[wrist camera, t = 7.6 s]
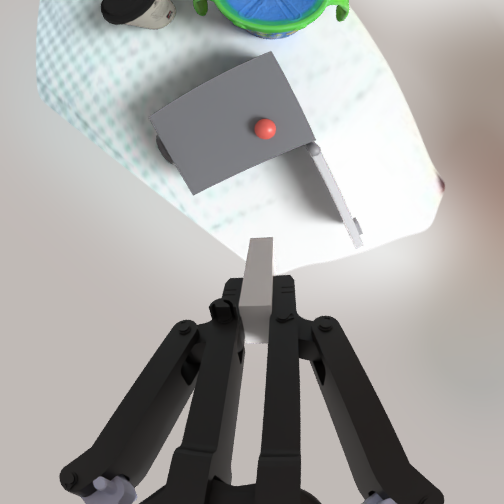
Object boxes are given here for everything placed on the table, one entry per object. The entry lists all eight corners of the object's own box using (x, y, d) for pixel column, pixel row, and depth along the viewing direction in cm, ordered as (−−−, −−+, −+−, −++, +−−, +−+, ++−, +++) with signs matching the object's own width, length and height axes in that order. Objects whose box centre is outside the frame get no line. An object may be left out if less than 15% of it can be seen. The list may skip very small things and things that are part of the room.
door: (344, 227, 36) (355, 249, 31) (301, 140, 31) (306, 147, 25) (355, 221, 35) (367, 243, 30) (313, 134, 30) (321, 140, 25)
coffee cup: (194, 16, 23) (165, -10, 15) (149, 46, 26) (109, 34, 17) (169, -14, 21) (137, -41, 12) (128, 16, 23) (86, 0, 14)
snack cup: (340, -4, 20) (362, -36, 12) (331, 63, 26) (353, 47, 17) (215, -20, 20) (194, -54, 12) (202, 46, 26) (173, 27, 17)
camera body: (163, 118, 31) (135, 124, 24) (272, 61, 26) (270, 49, 20) (199, 182, 35) (180, 203, 28) (308, 133, 31) (317, 141, 24)
